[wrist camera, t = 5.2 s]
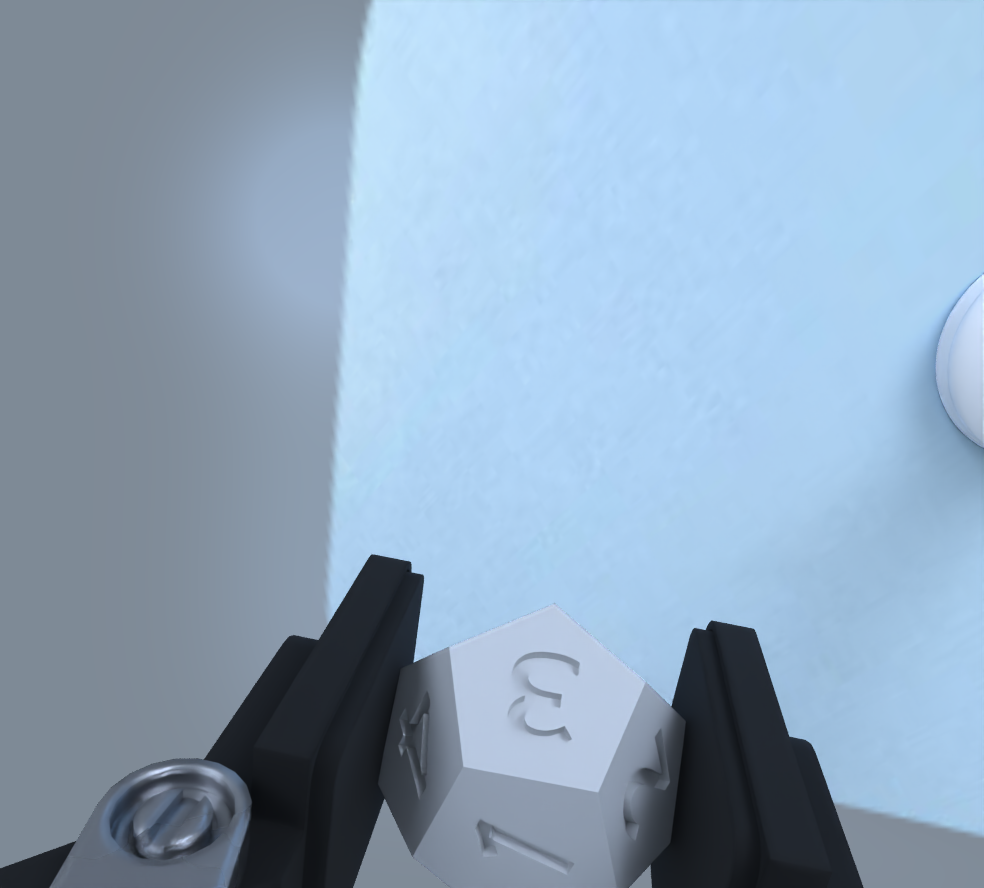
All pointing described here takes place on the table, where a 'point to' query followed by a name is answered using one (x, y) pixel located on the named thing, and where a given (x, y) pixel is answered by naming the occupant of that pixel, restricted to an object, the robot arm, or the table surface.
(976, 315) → the chess piece
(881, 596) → the table surface
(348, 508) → the table surface
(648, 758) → the game die
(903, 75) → the table surface
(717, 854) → the robot arm
